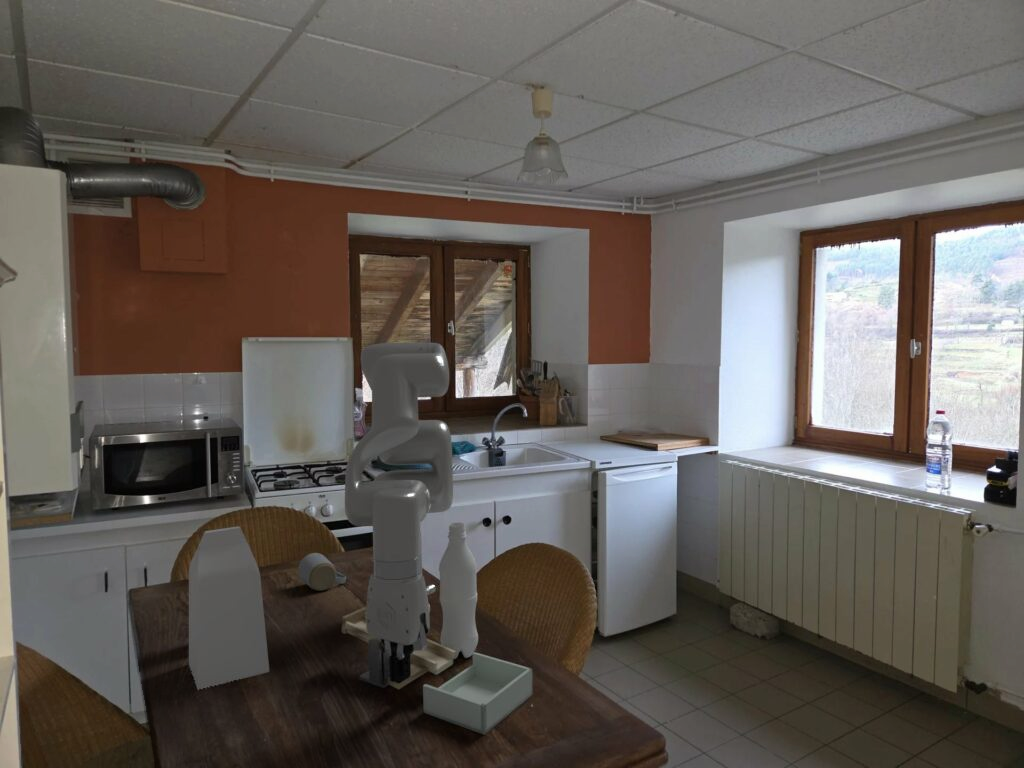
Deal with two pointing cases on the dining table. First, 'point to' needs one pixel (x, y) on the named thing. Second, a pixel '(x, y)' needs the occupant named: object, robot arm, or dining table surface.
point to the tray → (480, 694)
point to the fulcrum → (377, 665)
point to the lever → (422, 660)
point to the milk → (225, 611)
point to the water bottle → (458, 593)
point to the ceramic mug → (319, 572)
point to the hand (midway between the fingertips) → (400, 678)
